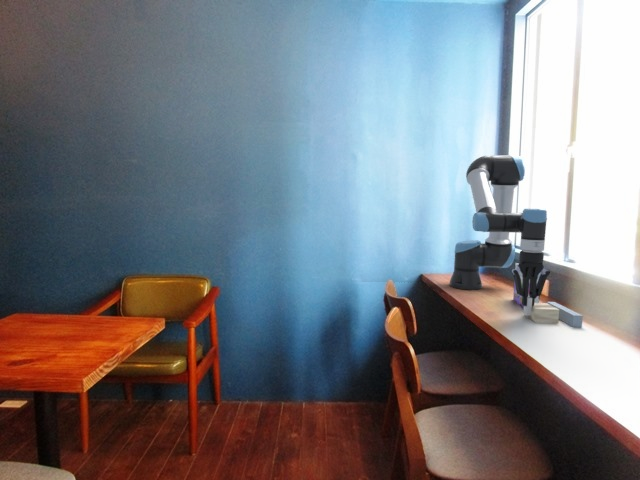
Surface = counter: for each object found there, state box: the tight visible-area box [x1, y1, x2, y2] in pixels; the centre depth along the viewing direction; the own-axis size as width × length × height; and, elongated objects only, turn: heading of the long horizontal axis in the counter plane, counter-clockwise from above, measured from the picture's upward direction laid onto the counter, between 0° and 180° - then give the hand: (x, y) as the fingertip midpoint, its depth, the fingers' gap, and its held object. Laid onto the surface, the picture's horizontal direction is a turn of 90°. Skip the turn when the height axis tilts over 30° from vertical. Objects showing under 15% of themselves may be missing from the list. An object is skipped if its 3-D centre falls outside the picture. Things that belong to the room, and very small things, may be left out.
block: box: [523, 302, 560, 324], centre depth 132 cm, size 8×8×5 cm
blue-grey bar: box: [545, 301, 584, 328], centre depth 132 cm, size 17×3×4 cm, turn 176°
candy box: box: [512, 263, 541, 309], centre depth 150 cm, size 14×6×16 cm, turn 168°
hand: (527, 314), depth 132 cm, fingers closed
